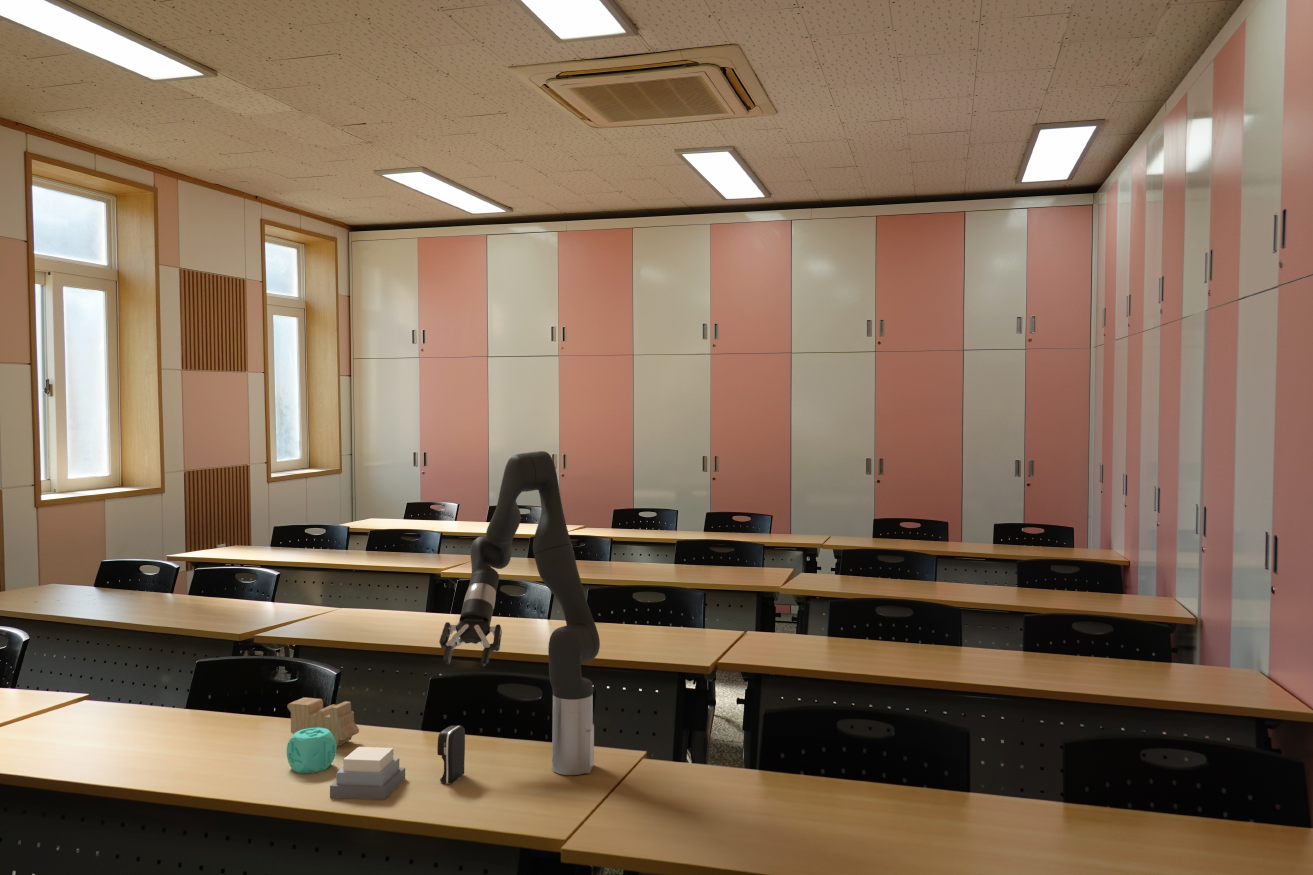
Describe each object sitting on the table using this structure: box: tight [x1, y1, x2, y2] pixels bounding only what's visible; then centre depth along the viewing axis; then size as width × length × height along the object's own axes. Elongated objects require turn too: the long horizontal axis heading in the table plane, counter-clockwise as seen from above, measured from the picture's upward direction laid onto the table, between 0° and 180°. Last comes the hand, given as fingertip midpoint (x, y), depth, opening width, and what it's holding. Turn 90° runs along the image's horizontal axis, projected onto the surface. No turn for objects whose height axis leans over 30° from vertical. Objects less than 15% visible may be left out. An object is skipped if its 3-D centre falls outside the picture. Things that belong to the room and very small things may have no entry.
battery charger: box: [436, 725, 466, 785], centre depth 205 cm, size 7×4×11 cm, turn 164°
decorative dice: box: [286, 728, 337, 774], centre depth 212 cm, size 8×8×8 cm
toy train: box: [287, 697, 360, 748], centre depth 229 cm, size 6×17×10 cm, turn 73°
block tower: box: [329, 746, 406, 801], centre depth 199 cm, size 12×12×8 cm
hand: (465, 663), depth 216 cm, fingers open, 8 cm apart
